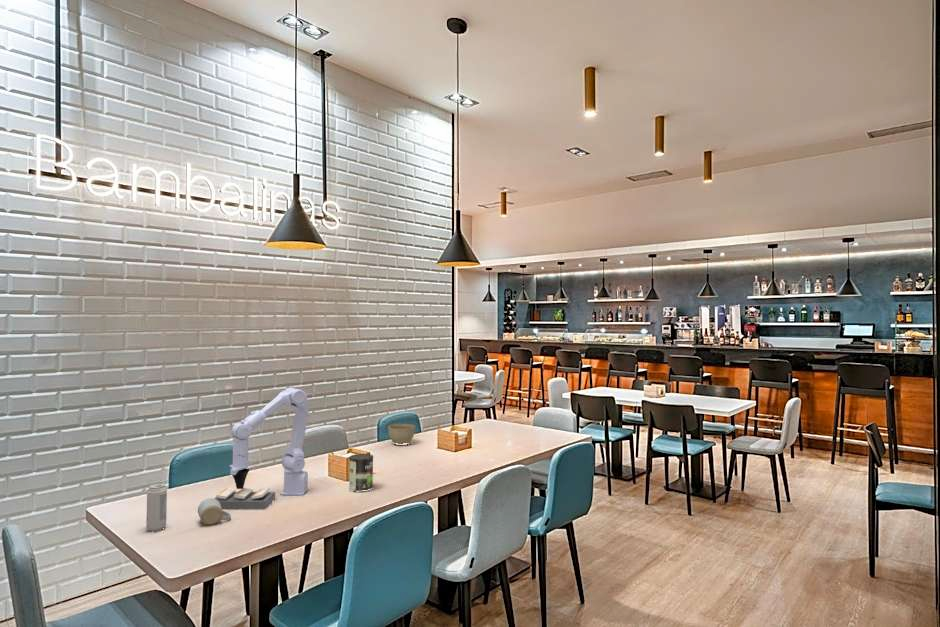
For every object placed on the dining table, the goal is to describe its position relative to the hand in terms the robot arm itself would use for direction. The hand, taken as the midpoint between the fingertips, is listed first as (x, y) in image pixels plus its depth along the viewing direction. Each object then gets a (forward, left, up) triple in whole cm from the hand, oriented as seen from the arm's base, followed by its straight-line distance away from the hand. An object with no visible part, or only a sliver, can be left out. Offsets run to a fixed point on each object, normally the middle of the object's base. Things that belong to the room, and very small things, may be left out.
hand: (240, 488), depth 216 cm
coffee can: (-44, -20, -6) cm, 49 cm away
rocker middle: (-1, 0, -2) cm, 3 cm away
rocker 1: (+6, 0, -2) cm, 6 cm away
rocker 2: (-8, 0, -2) cm, 9 cm away
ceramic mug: (+2, +19, -6) cm, 20 cm away
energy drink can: (+19, +26, -6) cm, 33 cm away
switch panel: (-1, 0, -6) cm, 6 cm away
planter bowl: (-53, -107, -6) cm, 120 cm away
